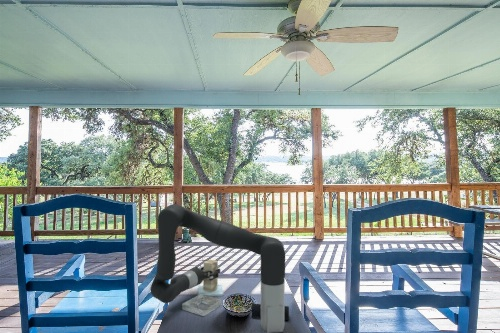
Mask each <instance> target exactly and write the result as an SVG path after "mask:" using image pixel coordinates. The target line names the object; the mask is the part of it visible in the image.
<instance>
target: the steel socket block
mask: <svg viewBox="0 0 500 333" xmlns="http://www.w3.org/2000/svg"><path fill="white" fill-rule="evenodd" d="M201 304H203V305H201ZM181 306H182V307H181V308H182V309H181V310H183V311H185V312H188V313H191V314H195V315H197V316H201V317H205V316H207V315H208V314H210V313H211V312H213V311H215V310H216V309H218V308H221V306H222V299H221V298H216V297H214V296H206V295H203V294H200V295H198V294H197V295H196V296H194V297H192V298H189V299H188V300H187V301H185V302H182V304H181Z"/></svg>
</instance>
